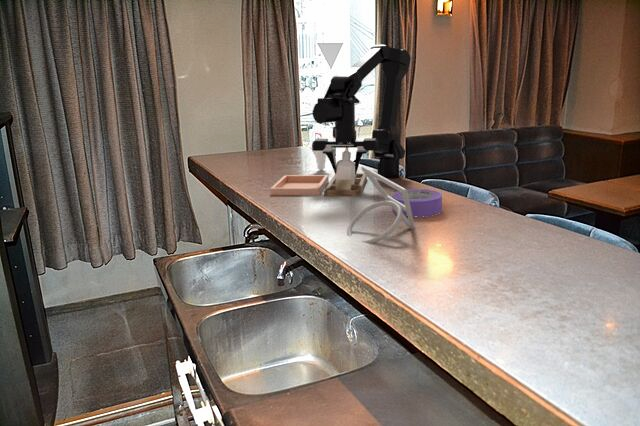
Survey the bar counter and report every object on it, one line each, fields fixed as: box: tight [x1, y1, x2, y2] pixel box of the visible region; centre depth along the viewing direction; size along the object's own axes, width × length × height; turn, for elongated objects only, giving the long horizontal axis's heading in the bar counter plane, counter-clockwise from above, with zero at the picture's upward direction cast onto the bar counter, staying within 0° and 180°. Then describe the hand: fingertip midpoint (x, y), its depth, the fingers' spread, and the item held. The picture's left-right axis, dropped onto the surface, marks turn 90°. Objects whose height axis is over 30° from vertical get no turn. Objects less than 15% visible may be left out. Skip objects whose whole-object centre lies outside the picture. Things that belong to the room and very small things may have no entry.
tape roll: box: [391, 188, 443, 218], centre depth 127 cm, size 12×12×5 cm
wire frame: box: [346, 165, 416, 244], centre depth 109 cm, size 18×13×16 cm
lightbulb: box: [311, 149, 327, 171], centre depth 182 cm, size 6×6×11 cm
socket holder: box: [323, 172, 368, 197], centre depth 156 cm, size 10×24×2 cm, turn 171°
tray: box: [269, 174, 330, 196], centre depth 156 cm, size 14×18×2 cm
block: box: [335, 180, 351, 190], centre depth 148 cm, size 4×4×4 cm
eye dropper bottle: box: [335, 148, 355, 185], centre depth 153 cm, size 4×6×12 cm
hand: (345, 173), depth 155 cm, fingers closed on eye dropper bottle, 5 cm apart
